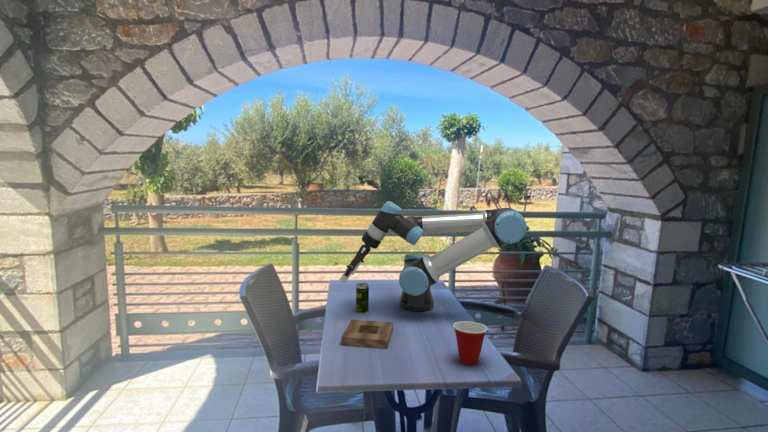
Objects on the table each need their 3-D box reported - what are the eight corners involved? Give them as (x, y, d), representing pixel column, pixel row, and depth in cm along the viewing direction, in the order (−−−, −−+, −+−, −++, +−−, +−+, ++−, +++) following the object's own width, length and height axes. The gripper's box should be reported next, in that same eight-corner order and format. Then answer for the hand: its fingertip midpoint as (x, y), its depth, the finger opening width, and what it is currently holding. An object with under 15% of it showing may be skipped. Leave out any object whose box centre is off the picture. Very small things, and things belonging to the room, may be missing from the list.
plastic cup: (487, 356, 138) (489, 321, 136) (484, 371, 127) (486, 334, 126) (454, 350, 141) (456, 317, 139) (448, 365, 131) (450, 329, 129)
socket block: (393, 329, 158) (393, 322, 157) (387, 348, 142) (387, 340, 142) (351, 326, 160) (351, 319, 160) (341, 345, 144) (341, 336, 144)
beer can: (361, 308, 179) (362, 281, 178) (371, 311, 176) (371, 284, 174) (353, 312, 175) (353, 284, 174) (362, 315, 172) (362, 287, 170)
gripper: (372, 226, 182) (346, 265, 186) (359, 235, 157) (330, 280, 161) (386, 236, 181) (360, 274, 185) (376, 247, 157) (346, 291, 161)
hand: (346, 277), depth 173 cm, fingers open, 13 cm apart
